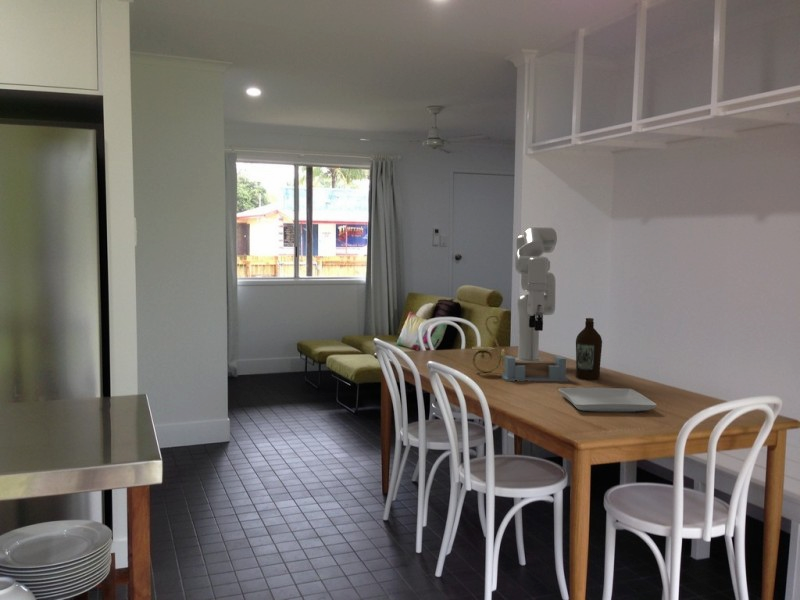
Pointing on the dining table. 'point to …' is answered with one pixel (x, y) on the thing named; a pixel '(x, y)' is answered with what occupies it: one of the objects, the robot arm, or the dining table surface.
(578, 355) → the olive oil
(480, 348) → the wall sconce
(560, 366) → the grey bracket base
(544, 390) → the dining table surface
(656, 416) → the dining table surface
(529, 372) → the rail
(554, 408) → the dining table surface
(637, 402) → the square plate
